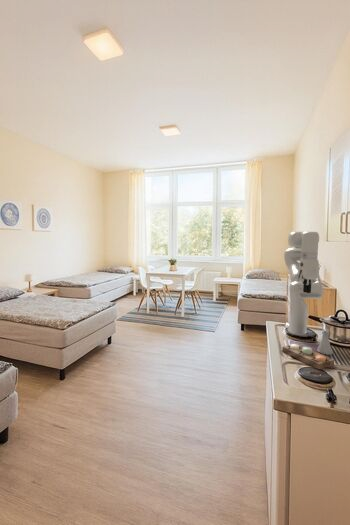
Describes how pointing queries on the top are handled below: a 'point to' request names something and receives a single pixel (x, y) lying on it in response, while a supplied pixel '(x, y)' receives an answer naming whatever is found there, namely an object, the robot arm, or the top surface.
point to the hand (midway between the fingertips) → (306, 292)
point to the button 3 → (320, 358)
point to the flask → (325, 344)
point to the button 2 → (307, 351)
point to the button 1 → (294, 346)
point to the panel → (308, 357)
